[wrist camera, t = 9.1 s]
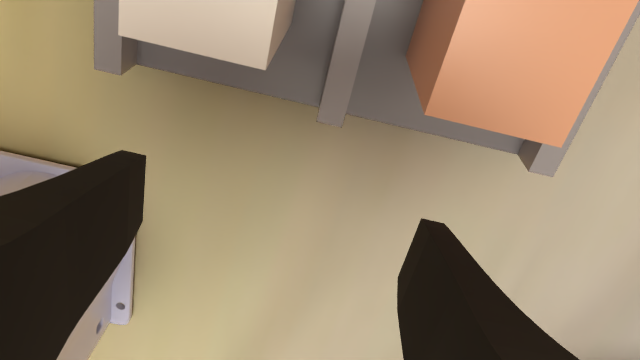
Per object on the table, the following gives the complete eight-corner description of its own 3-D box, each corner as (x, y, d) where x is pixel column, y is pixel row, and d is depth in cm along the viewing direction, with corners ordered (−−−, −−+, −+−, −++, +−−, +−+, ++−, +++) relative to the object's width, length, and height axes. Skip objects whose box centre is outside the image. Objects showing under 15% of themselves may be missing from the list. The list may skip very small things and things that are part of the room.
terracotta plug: (505, 81, 19) (561, 147, 14) (405, 56, 19) (424, 114, 14) (579, -92, 16) (686, -90, 11) (462, -123, 16) (514, -137, 11)
